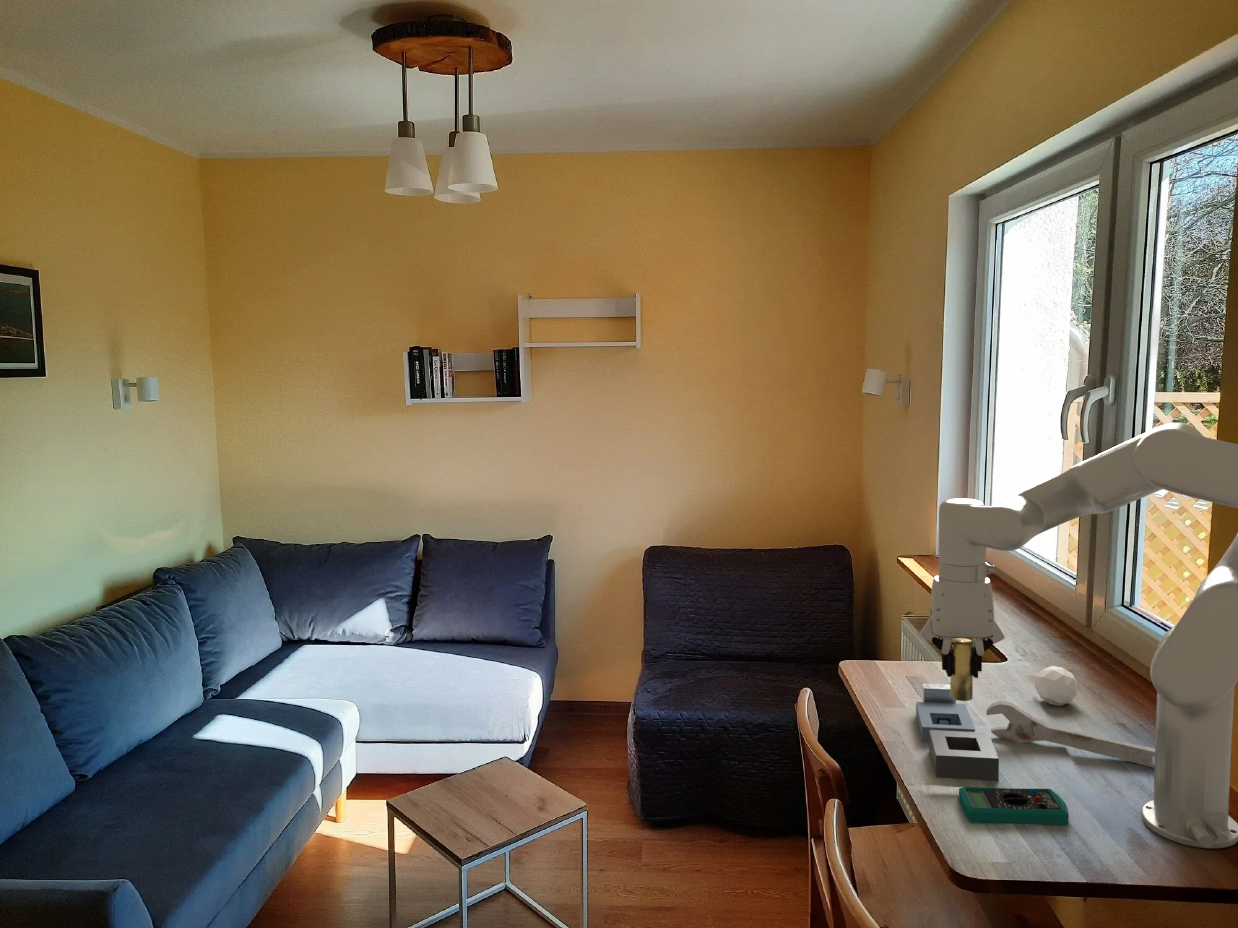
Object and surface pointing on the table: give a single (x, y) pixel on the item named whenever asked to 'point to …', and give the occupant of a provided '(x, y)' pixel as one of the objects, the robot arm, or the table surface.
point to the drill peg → (961, 669)
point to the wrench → (1064, 736)
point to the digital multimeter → (1013, 806)
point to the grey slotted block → (963, 755)
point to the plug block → (938, 697)
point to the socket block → (932, 711)
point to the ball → (1056, 685)
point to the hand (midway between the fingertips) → (961, 673)
